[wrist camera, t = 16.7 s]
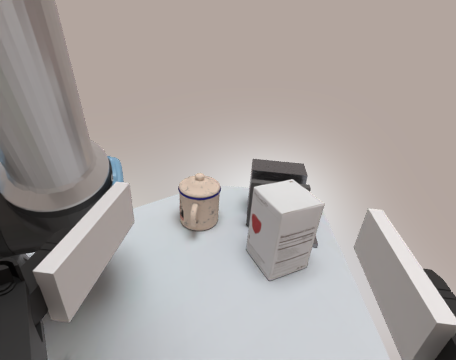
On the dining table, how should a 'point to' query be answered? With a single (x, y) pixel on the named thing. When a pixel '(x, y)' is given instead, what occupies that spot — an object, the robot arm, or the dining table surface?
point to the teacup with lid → (199, 202)
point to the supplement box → (282, 227)
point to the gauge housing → (278, 174)
